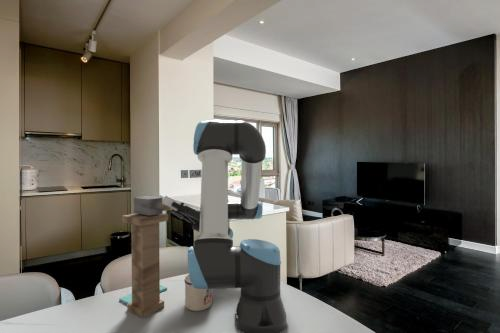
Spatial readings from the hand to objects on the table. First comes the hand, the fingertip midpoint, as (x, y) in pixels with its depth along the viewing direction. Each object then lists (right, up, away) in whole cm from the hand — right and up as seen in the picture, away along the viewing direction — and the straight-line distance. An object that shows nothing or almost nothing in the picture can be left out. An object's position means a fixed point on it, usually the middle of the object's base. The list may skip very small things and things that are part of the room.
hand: (161, 199), depth 100 cm
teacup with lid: (+13, -35, -1) cm, 37 cm away
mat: (-8, -34, +5) cm, 35 cm away
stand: (-4, -34, -5) cm, 35 cm away
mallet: (0, -4, 0) cm, 4 cm away
